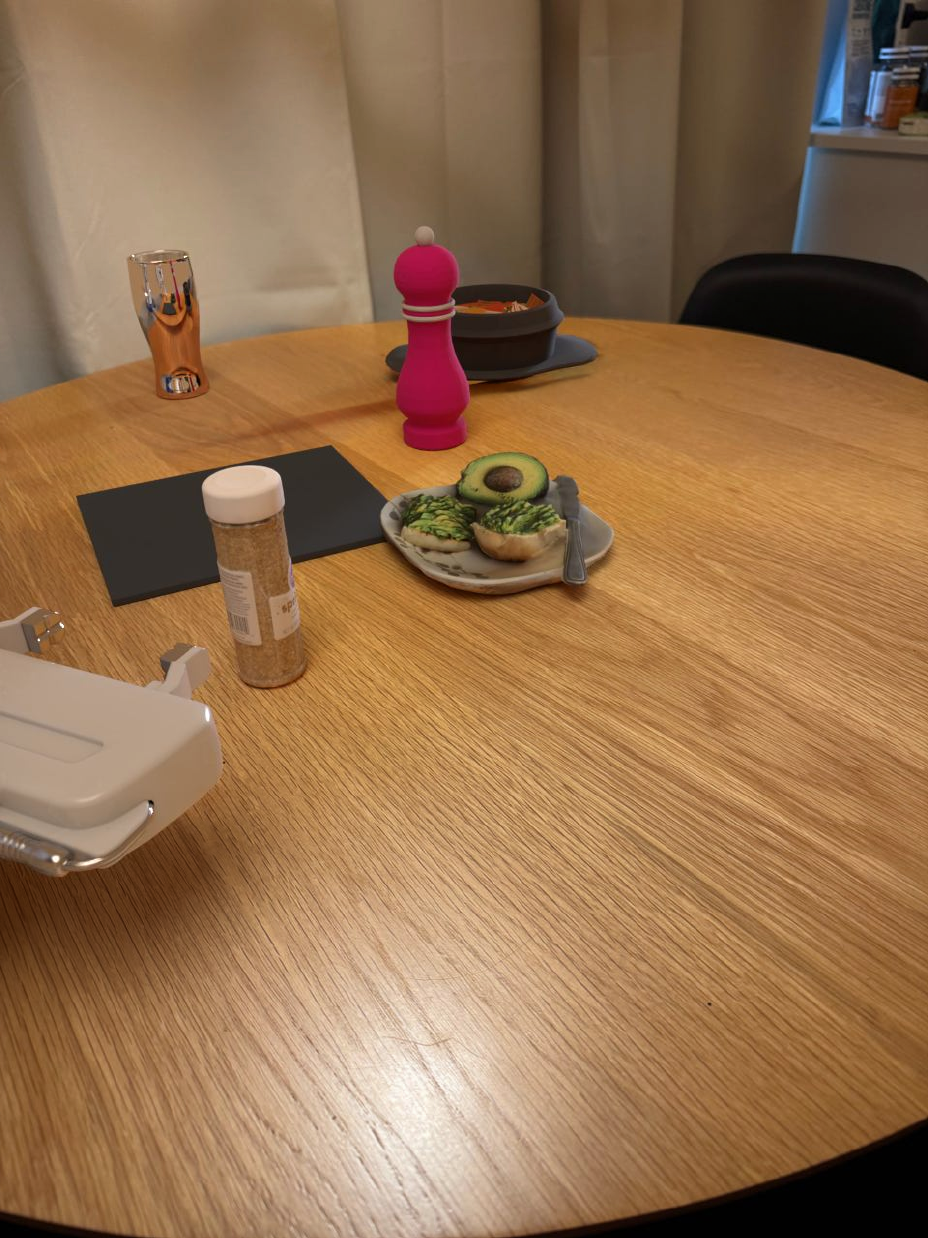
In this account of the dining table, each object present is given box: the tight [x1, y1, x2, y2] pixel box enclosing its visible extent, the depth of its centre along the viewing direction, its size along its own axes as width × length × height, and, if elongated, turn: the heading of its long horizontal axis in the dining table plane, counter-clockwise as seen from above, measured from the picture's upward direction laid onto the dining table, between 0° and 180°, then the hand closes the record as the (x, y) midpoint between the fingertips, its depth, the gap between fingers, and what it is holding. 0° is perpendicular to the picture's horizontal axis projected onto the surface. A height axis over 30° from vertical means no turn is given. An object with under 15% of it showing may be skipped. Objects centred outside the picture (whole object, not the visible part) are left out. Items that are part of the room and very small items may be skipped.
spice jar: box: [202, 465, 308, 689], centre depth 59 cm, size 5×5×14 cm
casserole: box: [384, 283, 598, 385], centre depth 113 cm, size 25×19×8 cm
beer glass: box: [126, 249, 211, 400], centre depth 109 cm, size 7×7×15 cm
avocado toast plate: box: [380, 451, 615, 595], centre depth 75 cm, size 19×18×5 cm
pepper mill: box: [393, 225, 471, 451], centre depth 92 cm, size 7×7×20 cm
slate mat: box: [75, 444, 389, 607], centre depth 83 cm, size 24×21×1 cm
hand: (122, 637), depth 49 cm, fingers open, 8 cm apart
